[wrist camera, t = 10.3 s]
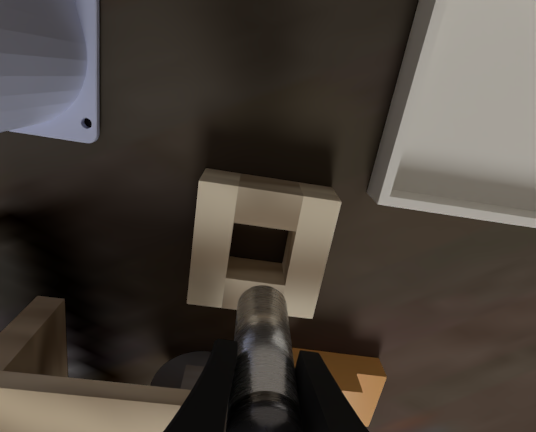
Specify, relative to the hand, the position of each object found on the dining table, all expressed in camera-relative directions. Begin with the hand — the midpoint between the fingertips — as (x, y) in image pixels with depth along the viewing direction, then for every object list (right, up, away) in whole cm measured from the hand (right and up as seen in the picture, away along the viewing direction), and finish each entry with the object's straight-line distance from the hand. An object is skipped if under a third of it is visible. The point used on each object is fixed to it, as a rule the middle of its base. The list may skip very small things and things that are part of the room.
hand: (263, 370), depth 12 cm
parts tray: (+13, +11, +7) cm, 19 cm away
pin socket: (0, +4, +10) cm, 10 cm away
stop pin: (0, +1, +3) cm, 3 cm away
